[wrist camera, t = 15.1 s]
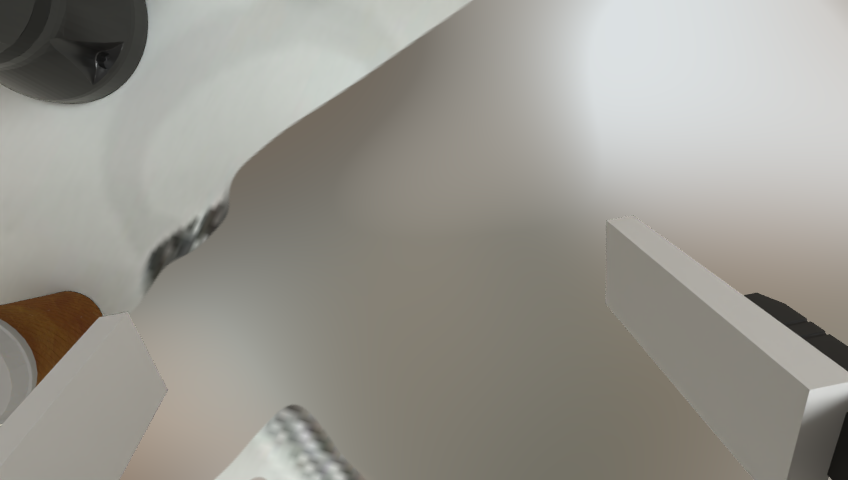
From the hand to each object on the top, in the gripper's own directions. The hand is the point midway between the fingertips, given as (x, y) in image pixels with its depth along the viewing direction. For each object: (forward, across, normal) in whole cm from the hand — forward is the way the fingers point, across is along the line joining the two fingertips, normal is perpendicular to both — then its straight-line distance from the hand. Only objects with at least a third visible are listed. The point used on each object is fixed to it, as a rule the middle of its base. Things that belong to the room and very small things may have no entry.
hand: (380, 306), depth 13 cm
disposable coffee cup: (+31, -33, -15) cm, 48 cm away
